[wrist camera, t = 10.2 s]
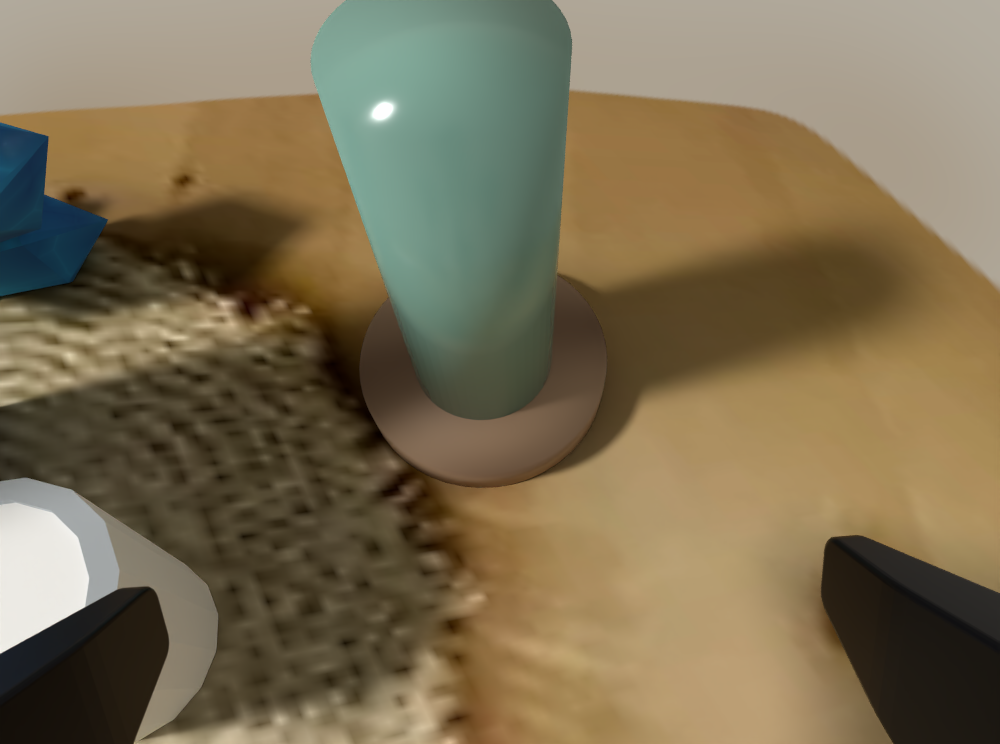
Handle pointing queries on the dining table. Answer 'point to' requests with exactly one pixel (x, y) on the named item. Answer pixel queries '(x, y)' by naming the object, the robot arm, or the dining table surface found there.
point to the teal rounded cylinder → (457, 180)
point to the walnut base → (497, 442)
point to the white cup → (98, 583)
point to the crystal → (37, 219)
